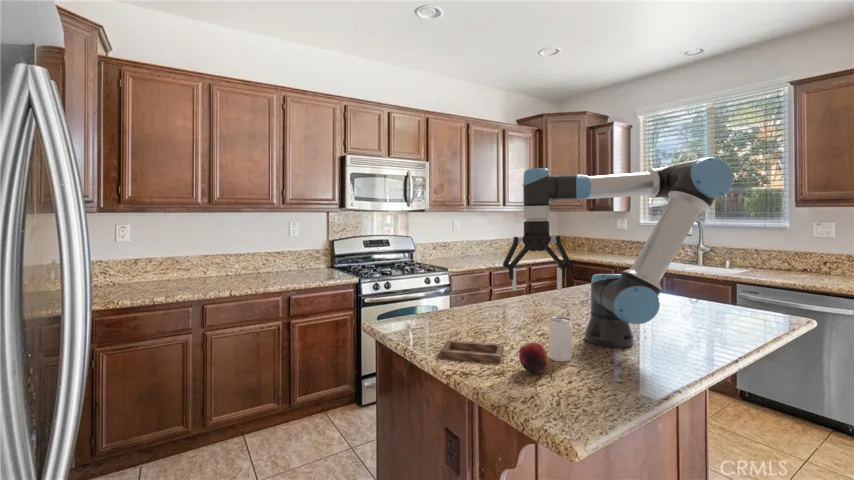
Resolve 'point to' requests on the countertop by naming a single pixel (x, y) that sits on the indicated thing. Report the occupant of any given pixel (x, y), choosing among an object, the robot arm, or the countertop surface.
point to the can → (560, 339)
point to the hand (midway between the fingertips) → (536, 289)
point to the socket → (472, 356)
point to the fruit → (533, 357)
